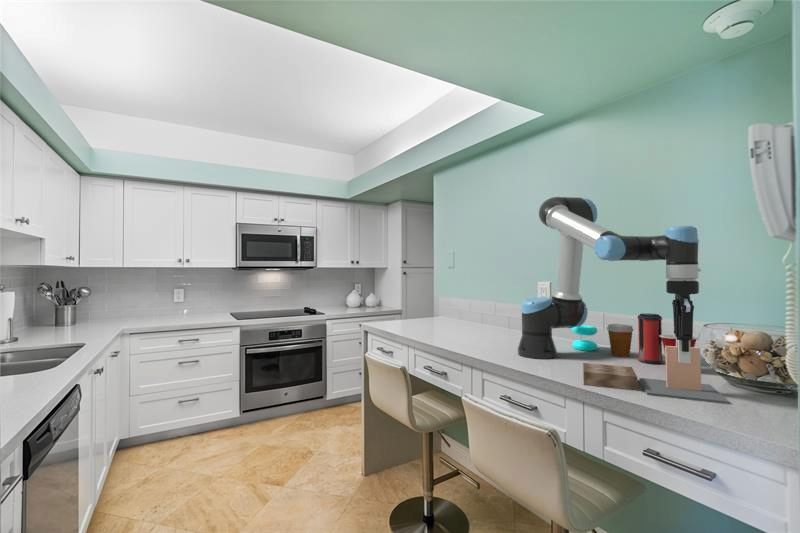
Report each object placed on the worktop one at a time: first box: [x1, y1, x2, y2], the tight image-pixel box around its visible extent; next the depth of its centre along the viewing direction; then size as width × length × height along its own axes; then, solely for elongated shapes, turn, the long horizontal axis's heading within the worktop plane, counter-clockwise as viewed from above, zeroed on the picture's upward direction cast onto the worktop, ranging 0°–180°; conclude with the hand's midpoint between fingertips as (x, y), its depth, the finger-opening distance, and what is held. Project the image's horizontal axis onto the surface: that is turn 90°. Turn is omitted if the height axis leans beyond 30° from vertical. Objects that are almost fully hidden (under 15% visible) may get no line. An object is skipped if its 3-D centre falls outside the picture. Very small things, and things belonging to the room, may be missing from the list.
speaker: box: [637, 313, 663, 365], centre depth 143 cm, size 8×8×18 cm
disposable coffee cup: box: [606, 323, 635, 358], centre depth 155 cm, size 10×10×12 cm
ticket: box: [664, 346, 702, 391], centre depth 109 cm, size 8×1×12 cm, turn 66°
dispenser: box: [582, 362, 638, 391], centre depth 118 cm, size 14×12×4 cm
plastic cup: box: [659, 334, 698, 352], centre depth 132 cm, size 11×11×12 cm
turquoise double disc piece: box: [571, 324, 598, 352], centre depth 167 cm, size 10×10×10 cm
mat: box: [638, 377, 730, 405], centre depth 109 cm, size 18×16×1 cm
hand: (683, 361), depth 109 cm, fingers open, 2 cm apart
